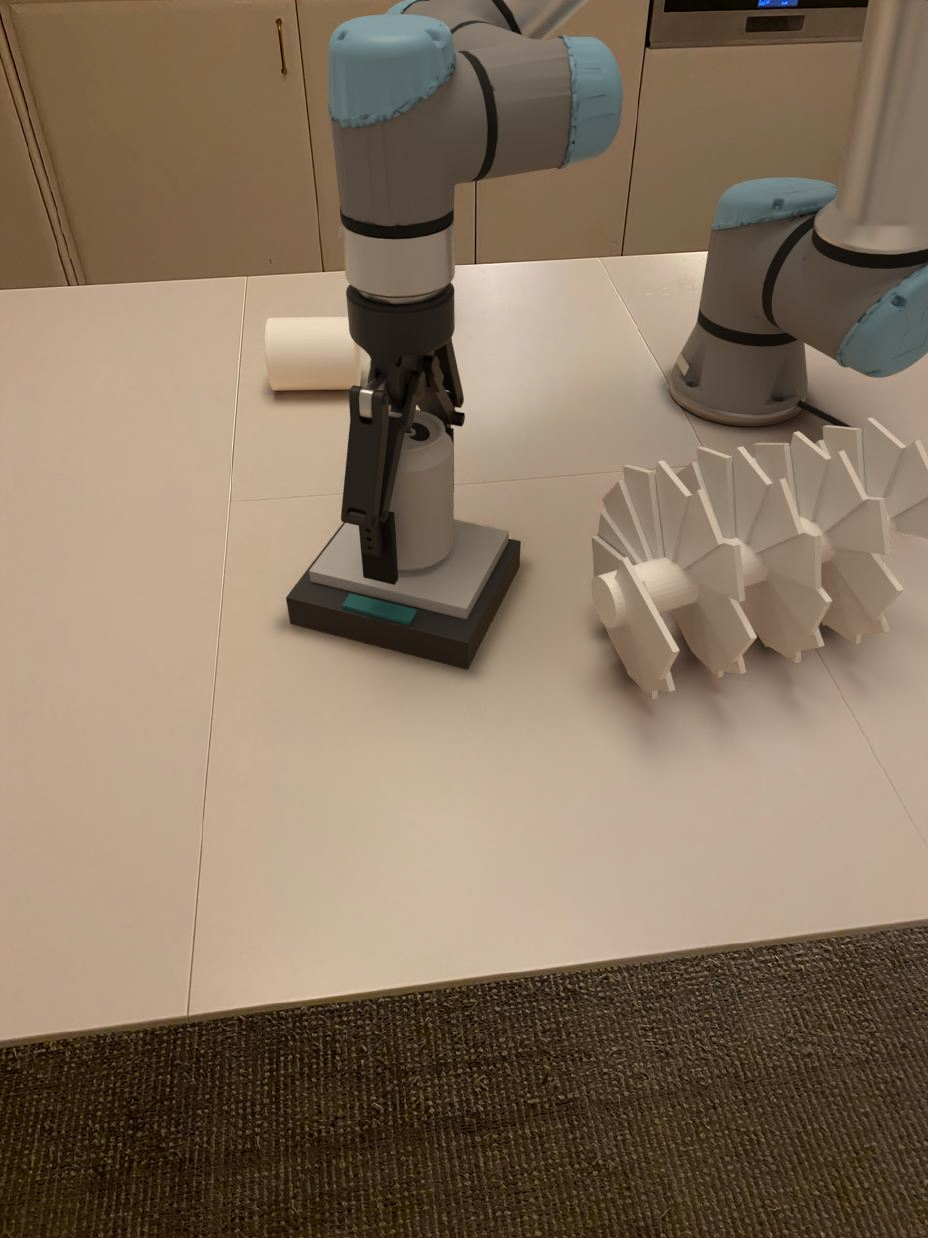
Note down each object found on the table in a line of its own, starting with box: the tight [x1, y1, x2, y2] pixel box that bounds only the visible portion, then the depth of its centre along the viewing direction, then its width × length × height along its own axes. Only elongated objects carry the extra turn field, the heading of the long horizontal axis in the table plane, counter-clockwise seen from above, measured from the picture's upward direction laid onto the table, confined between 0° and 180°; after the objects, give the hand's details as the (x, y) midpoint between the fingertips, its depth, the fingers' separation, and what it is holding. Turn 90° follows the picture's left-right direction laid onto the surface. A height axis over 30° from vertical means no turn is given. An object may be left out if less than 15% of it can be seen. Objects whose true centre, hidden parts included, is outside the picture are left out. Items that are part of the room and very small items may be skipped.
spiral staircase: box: [590, 417, 928, 700], centre depth 74 cm, size 18×18×25 cm
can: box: [389, 409, 455, 572], centre depth 77 cm, size 8×8×12 cm
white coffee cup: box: [263, 316, 362, 391], centre depth 110 cm, size 12×10×8 cm
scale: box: [285, 518, 522, 670], centre depth 82 cm, size 16×14×4 cm
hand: (411, 533), depth 80 cm, fingers open, 12 cm apart
